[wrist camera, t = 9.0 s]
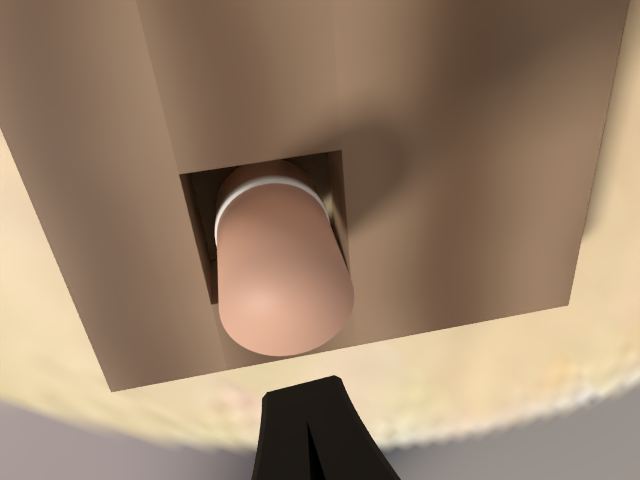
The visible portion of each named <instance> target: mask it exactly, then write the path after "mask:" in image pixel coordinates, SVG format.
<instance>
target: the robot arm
mask: <svg viewBox="0 0 640 480" xmlns="http://www.w3.org/2000/svg"><path fill="white" fill-rule="evenodd" d="M252 480H401V479H400V478H399V477H398V475H397V474H396V472H395V471H394V469H393V468H392V467H391V465H390V464H389V462H388V461H387V459H386V458H385V457H384V455H383V454H382V452H381V451H380V449H379V448H378V446H377V445H376V443H375V442H374V440H373V438H372V437H371V435H370V434H369V432H368V430H367V429H366V427H365V425H364V424H363V422H362V420H361V419H360V417H359V415H358V413H357V411H356V410H355V408H354V406H353V404H352V402H351V400H350V398H349V396H348V394H347V392H346V390H345V387H344V385H343V382H342V379H341V378H339V377H337V376H335V375H333V376H329V377H325V378H322V379H318V380H314V381H310V382H306V383H302V384H298V385H294V386H290V387H286V388H282V389H278V390H274V391H270V392H267V393H266V394H265V396H264V397H263V398H262V414H261V425H260V433H259V440H258V447H257V453H256V459H255V464H254V470H253V475H252Z"/></svg>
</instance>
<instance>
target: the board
mask: <svg viewBox="0 0 640 480" xmlns="http://www.w3.org/2000/svg"><path fill="white" fill-rule="evenodd" d="M628 5H629V0H0V128H1V130H2V133H3V135H4V138H5V140H6V142H7V145H8V147H9V149H10V152H11V154H12V157H13V159H14V161H15V164H16V166H17V169H18V171H19V173H20V176H21V178H22V180H23V183H24V185H25V188H26V190H27V192H28V195H29V197H30V200H31V202H32V204H33V207H34V209H35V211H36V214H37V216H38V219H39V221H40V223H41V226H42V228H43V231H44V233H45V235H46V238H47V240H48V242H49V245H50V247H51V250H52V252H53V254H54V257H55V259H56V262H57V264H58V266H59V269H60V271H61V273H62V276H63V278H64V281H65V283H66V285H67V288H68V290H69V293H70V295H71V297H72V300H73V302H74V304H75V307H76V309H77V312H78V314H79V316H80V319H81V321H82V324H83V326H84V328H85V331H86V333H87V335H88V338H89V340H90V343H91V345H92V347H93V350H94V352H95V355H96V357H97V359H98V362H99V364H100V366H101V369H102V371H103V374H104V376H105V378H106V381H107V383H108V386H109V388H110V390H111V392H115V391H120V390H126V389H131V388H136V387H141V386H147V385H152V384H157V383H163V382H168V381H173V380H178V379H184V378H189V377H194V376H199V375H205V374H210V373H215V372H220V371H226V370H231V369H236V368H241V367H247V366H252V365H257V364H262V363H268V362H273V361H278V360H283V359H289V358H294V357H299V356H304V355H310V354H315V353H320V352H325V351H331V350H336V349H341V348H346V347H352V346H357V345H362V344H367V343H373V342H378V341H383V340H388V339H394V338H399V337H404V336H409V335H415V334H420V333H425V332H431V331H436V330H441V329H446V328H452V327H457V326H462V325H467V324H473V323H478V322H483V321H488V320H494V319H499V318H504V317H509V316H515V315H520V314H525V313H530V312H536V311H541V310H546V309H551V308H557V307H562V306H567V305H568V304H569V299H570V294H571V289H572V284H573V279H574V274H575V269H576V264H577V259H578V254H579V249H580V244H581V239H582V234H583V229H584V225H585V220H586V215H587V210H588V205H589V200H590V195H591V190H592V185H593V180H594V175H595V170H596V165H597V160H598V155H599V150H600V145H601V140H602V135H603V130H604V125H605V120H606V115H607V110H608V105H609V100H610V95H611V90H612V85H613V80H614V75H615V70H616V65H617V60H618V55H619V50H620V45H621V40H622V35H623V30H624V25H625V20H626V15H627V10H628ZM324 152H328V159H329V171H330V183H331V195H332V206H333V218H334V230H335V239H336V241H337V244H338V247H339V249H340V252H341V254H342V257H343V260H344V262H345V265H346V267H347V270H348V272H349V275H350V278H351V280H352V283H353V287H354V305H353V309H352V312H351V315H350V317H349V319H348V321H347V322H346V324H345V325H344V326H343V328H342V329H341V330H340V331H339V332H338V333H337V334H336V335H335V336H334V337H333V338H332V339H330V340H329V341H327V342H326V343H324V344H323V345H321V346H319V347H317V348H315V349H313V350H310V351H307V352H304V353H300V354H296V355H289V356H269V355H263V354H259V353H256V352H253V351H251V350H248V349H246V348H244V347H243V346H241V345H239V344H238V343H237V342H235V341H234V340H233V339H232V338H231V337H230V336H229V334H228V333H227V332H226V330H225V328H224V327H223V325H222V322H221V319H220V314H219V298H218V263H217V260H211V259H210V255H209V251H208V246H207V242H206V238H205V234H204V229H203V225H202V221H201V217H200V212H199V208H198V204H197V200H196V195H195V191H194V187H193V183H192V178H191V174H190V173H192V172H198V171H205V170H211V169H218V168H225V167H231V166H238V165H244V164H251V163H258V162H264V161H271V160H277V159H284V158H291V157H297V156H304V155H310V154H317V153H324Z"/></svg>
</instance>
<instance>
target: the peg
mask: <svg viewBox="0 0 640 480" xmlns="http://www.w3.org/2000/svg"><path fill="white" fill-rule="evenodd" d="M215 241H216V245H217V263H218V298H219V314H220V319H221V322H222V325H223V327H224V328H225V330H226V332H227V333H228V334H229V336H230V337H231V338H232V339H233V340H234V341H235V342H237V343H238V344H239V345H241V346H243V347H244V348H246V349H248V350H251V351H253V352H256V353H259V354H263V355H269V356H289V355H296V354H300V353H304V352H307V351H310V350H313V349H315V348H317V347H319V346H321V345H323V344H324V343H326V342H327V341H329V340H330V339H332V338H333V337H334V336H335V335H336V334H337V333H338V332H339V331H340V330H341V329H342V328H343V326H344V325H345V324H346V322H347V321H348V319H349V317H350V315H351V312H352V309H353V305H354V287H353V283H352V280H351V278H350V275H349V272H348V270H347V267H346V265H345V262H344V260H343V257H342V254H341V252H340V249H339V247H338V244H337V241H336V239H335V236H334V234H333V231H332V229H331V226H330V221H329V217H328V214H327V211H326V208H325V206H324V204H323V202H322V200H321V198H320V197H319V195H318V192H317V190H316V187H315V185H314V183H313V181H312V180H311V178H310V177H309V176H308V175H307V174H306V173H305V172H304V171H303V170H302V169H301V168H299V167H298V166H296V165H294V164H292V163H290V162H287V161H283V160H279V159H277V160H271V161H264V162H258V163H251V164H244V165H242V166H240V167H239V168H237V169H236V170H234V171H233V172H232V173H231V174H230V175H229V176H228V177H227V178H226V179H225V181H224V182H223V184H222V185H221V187H220V189H219V192H218V195H217V200H216V219H215Z"/></svg>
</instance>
